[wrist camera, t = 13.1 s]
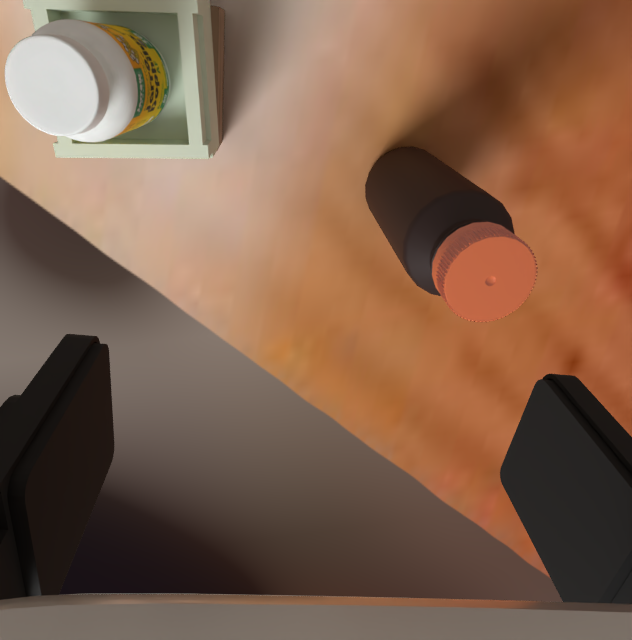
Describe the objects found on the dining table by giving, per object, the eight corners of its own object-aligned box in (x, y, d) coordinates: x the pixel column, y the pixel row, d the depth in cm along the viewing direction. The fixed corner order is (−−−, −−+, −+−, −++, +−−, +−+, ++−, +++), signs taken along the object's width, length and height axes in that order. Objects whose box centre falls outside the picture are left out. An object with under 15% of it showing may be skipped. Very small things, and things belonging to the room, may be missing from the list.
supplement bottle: (66, 38, 29) (-39, 29, 21) (155, 16, 29) (84, -2, 20) (102, 135, 32) (21, 162, 23) (184, 116, 31) (132, 138, 23)
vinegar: (370, 141, 42) (440, 210, 24) (450, 149, 42) (575, 221, 25) (358, 222, 45) (413, 335, 27) (433, 228, 45) (533, 341, 28)
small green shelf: (209, -1, 33) (196, -11, 27) (219, 146, 37) (209, 163, 31) (64, -6, 32) (19, -17, 26) (91, 144, 36) (57, 162, 30)
